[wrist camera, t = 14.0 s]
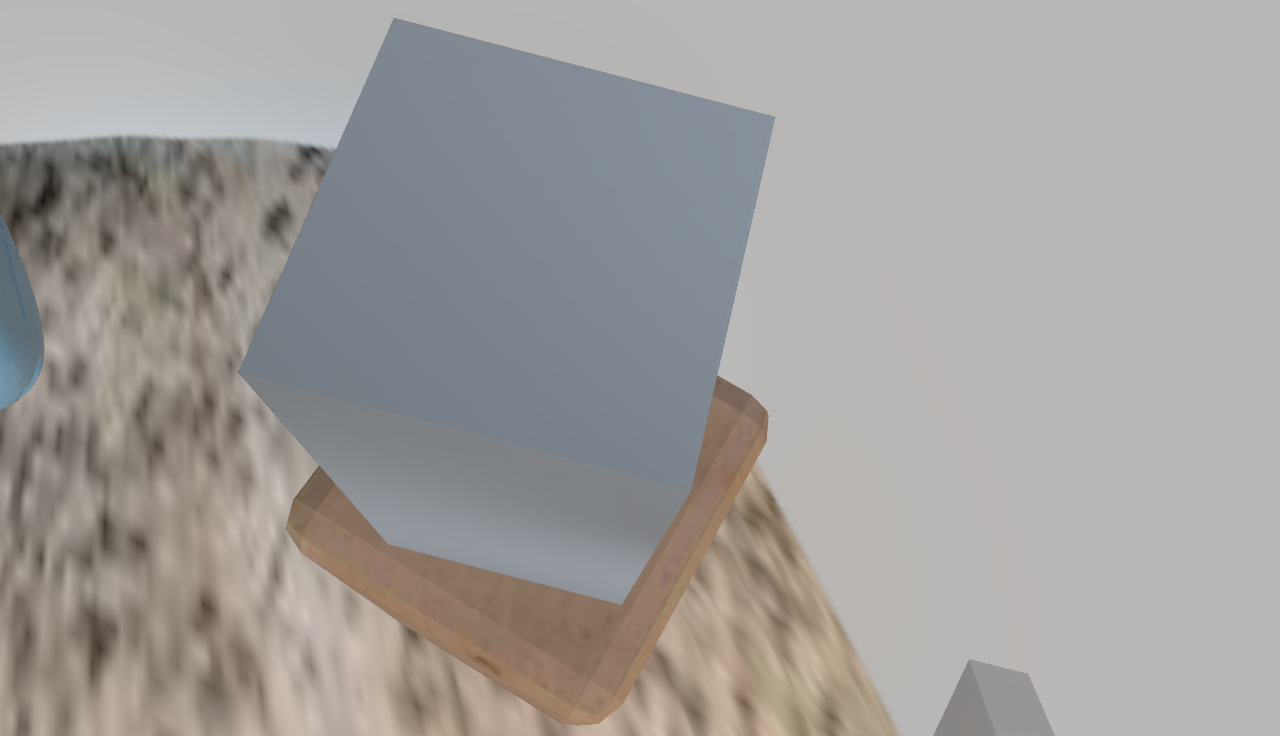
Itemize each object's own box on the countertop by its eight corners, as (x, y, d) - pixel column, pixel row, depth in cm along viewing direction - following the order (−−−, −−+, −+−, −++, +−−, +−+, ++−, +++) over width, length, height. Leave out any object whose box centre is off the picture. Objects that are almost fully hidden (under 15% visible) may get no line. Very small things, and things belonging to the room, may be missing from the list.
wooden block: (578, 735, 40) (604, 741, 22) (388, 615, 41) (257, 524, 23) (688, 538, 44) (790, 401, 25) (510, 433, 45) (483, 227, 26)
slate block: (388, 544, 23) (237, 372, 12) (461, 330, 25) (393, 18, 14) (621, 604, 23) (691, 490, 12) (674, 386, 25) (775, 117, 14)
